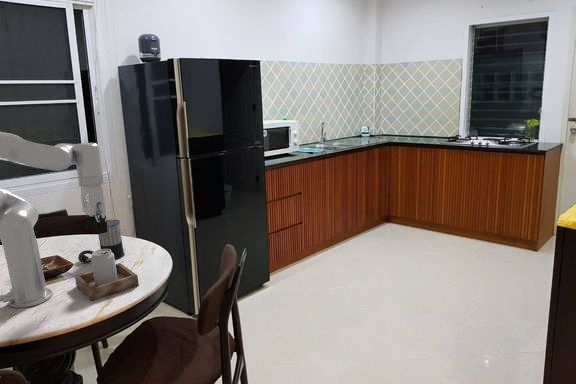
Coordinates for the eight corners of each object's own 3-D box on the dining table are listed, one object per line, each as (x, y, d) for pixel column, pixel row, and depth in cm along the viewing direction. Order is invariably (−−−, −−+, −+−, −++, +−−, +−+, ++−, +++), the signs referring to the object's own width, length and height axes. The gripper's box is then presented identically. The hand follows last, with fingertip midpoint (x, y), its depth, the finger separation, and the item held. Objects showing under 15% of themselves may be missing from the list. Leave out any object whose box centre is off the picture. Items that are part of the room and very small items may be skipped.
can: (110, 288, 151) (105, 256, 148) (90, 288, 152) (85, 255, 149) (122, 279, 158) (117, 247, 155) (103, 278, 159) (98, 247, 156)
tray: (91, 301, 144) (89, 290, 143) (76, 286, 156) (74, 276, 155) (138, 285, 154) (137, 275, 154) (121, 272, 166) (119, 262, 165)
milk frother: (129, 254, 185) (125, 220, 181) (97, 268, 172) (92, 232, 168) (106, 249, 192) (101, 217, 188) (74, 263, 178) (68, 228, 175)
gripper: (71, 178, 150) (78, 226, 154) (87, 186, 138) (94, 238, 142) (93, 175, 155) (100, 222, 159) (112, 182, 142) (118, 232, 146)
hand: (97, 229), depth 150 cm, fingers open, 9 cm apart
